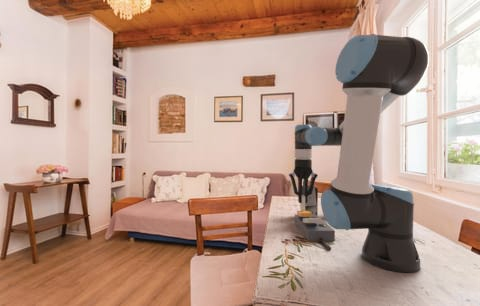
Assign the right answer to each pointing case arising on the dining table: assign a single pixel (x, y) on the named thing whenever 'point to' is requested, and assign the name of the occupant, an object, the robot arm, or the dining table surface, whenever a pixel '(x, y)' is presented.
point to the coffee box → (312, 201)
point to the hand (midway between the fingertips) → (302, 209)
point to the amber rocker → (304, 214)
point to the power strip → (315, 230)
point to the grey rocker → (311, 220)
